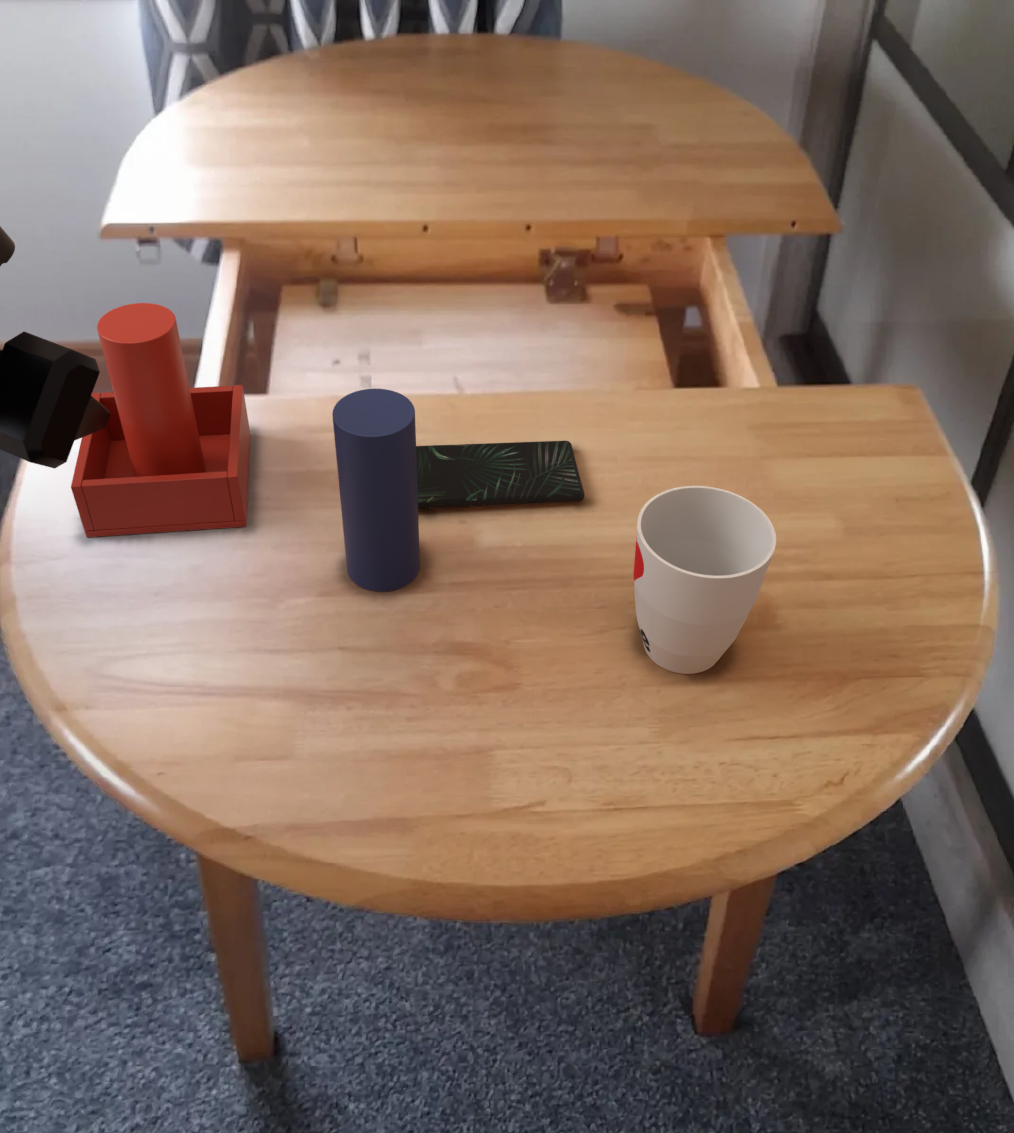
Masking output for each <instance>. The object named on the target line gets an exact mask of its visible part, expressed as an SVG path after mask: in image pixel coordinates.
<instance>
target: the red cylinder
mask: <svg viewBox="0 0 1014 1133" xmlns="http://www.w3.org/2000/svg"><path fill="white" fill-rule="evenodd" d="M177 323H178V322H177V318H176V316H175V314H174V312H173V311H172V310H170V309H169V308H168V307H166V306H165V305H161V304H157V303H153V302H152V303H150V302H136V303H135V302H134V303H129V304H124V305H121V306H118V307H116V308H113V309H111V310H109V311H107V312H106V313H105V314H103V315H102V316H101V317H100V318H99V320H98V322H97V326H96V331H97V334H98V338H99V342H100V346H101V350H102V353H103V358H104V361H105V365H106V369H107V373H108V377H109V381H110V385H111V388H112V392H113V393H114V397H115V401H116V405H117V409H118V413H119V416H120V420H121V424H122V428H123V432H124V436H125V440H126V444H127V448H128V452H129V455H130V459H131V463H132V467H133V471H134V475H135V477H142V476H158V475H174V474H191V473H206V468H205V463H204V458H203V453H202V448H201V443H200V438H199V433H198V428H197V423H196V418H195V413H194V408H193V403H192V398H191V393H190V388H191V387H190V384H189V379H188V373H187V368H186V363H185V359H184V352H183V348H182V344H181V340H180V339H181V338H180V333H179V327H178V324H177Z"/></svg>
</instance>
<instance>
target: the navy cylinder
mask: <svg viewBox="0 0 1014 1133" xmlns="http://www.w3.org/2000/svg"><path fill="white" fill-rule="evenodd" d="M332 426H333V437H334V447H335V456H336V468H337V469H336V470H337V477H338V489H339V499H340V500H339V501H340V512H341V520H342V531H343V541H344V550H345V551H344V552H345V562H346V571H347V575H348V577H349V578H350V580H351V581H352V582H353V583H354V584H355V585H357V586H358V587H360V588H362V589H364V590H366V591H371V592H377V593H384V592H392V591H393V592H394V591H397V590H400V589H403V588H405V587H406V586H408V585H409V584H411V583H412V582H413V581H414V580H415V579H416V578H417V576H418V574H419V572H420V569H421V555H420V554H421V553H420V551H421V550H420V522H419V521H420V520H419V519H420V518H419V510H418V487H417V457H416V446H417V430H416V427H417V426H416V409H415V406H414V404H413V402H412V401H411V399H409V398H408V397H407V396H405V395H404V394H402V393H400V392H398V391H395V390H391V389H385V388H365V389H360V390H356V391H353V392H350V393H348V394H346V395H345V396H342V397H341V398H340V399H339V400H338V401H337V402H336V403H335V405H334V407H333V409H332Z"/></svg>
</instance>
